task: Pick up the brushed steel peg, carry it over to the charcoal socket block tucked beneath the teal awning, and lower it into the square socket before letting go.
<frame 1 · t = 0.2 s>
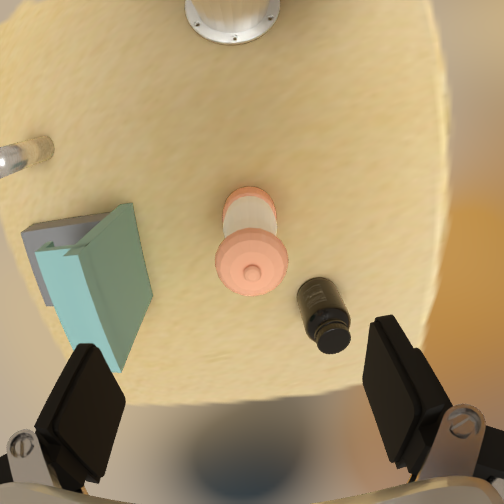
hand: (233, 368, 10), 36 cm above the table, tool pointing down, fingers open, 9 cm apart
supplement bottle: (316, 294, 52), on the table
socket stand: (69, 258, 48), on the table
salt shaker: (249, 210, 46), on the table
peg: (44, 148, 40), on the table
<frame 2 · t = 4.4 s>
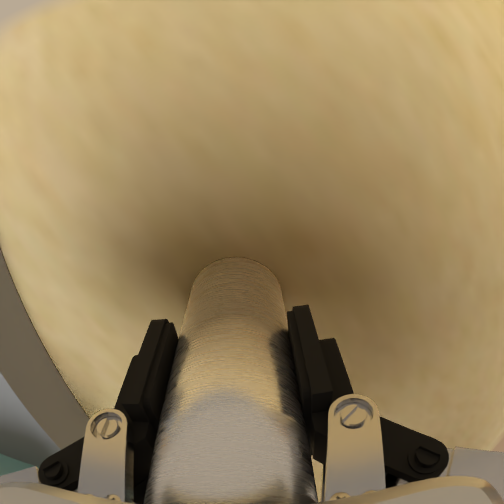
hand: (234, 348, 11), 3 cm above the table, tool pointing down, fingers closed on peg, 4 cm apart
peg: (236, 298, 14), on the table, touching gripper
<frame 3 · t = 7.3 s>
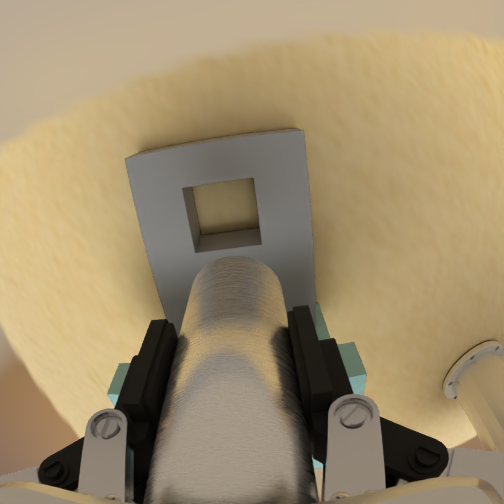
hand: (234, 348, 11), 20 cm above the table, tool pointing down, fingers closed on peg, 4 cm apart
socket stand: (225, 203, 29), on the table
peg: (236, 297, 14), point 16 cm above the table, touching gripper
when the fingers open (5 cm above the table, at t = 10.4 s): peg drops 1 cm, resting in socket stand.
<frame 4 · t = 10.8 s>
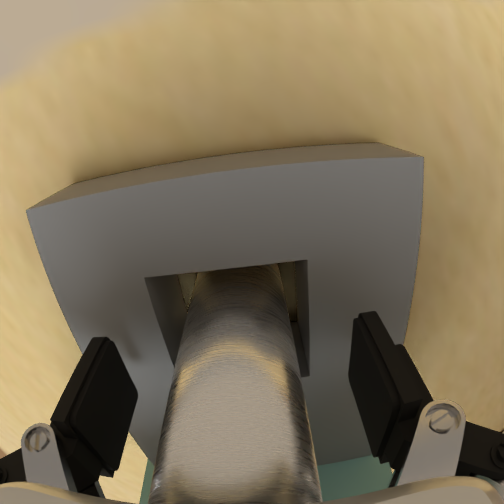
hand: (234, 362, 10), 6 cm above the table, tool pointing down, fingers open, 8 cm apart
socket stand: (236, 281, 15), on the table
peg: (238, 281, 15), resting in socket stand
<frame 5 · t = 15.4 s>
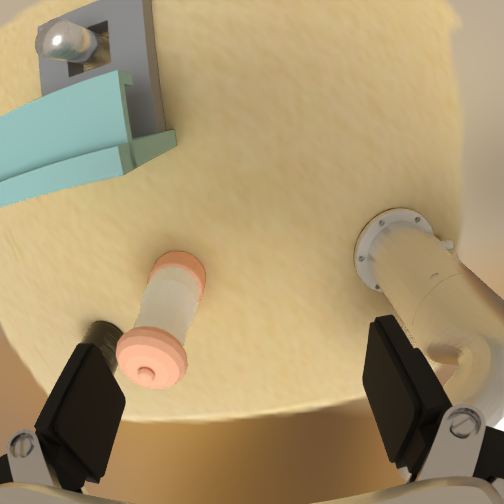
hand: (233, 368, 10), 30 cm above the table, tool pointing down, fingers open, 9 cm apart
supplement bottle: (107, 336, 48), on the table
socket stand: (101, 53, 30), on the table
salt shaker: (179, 274, 43), on the table
peg: (102, 52, 30), resting in socket stand
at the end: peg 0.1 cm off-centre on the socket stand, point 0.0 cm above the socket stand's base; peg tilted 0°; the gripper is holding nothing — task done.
